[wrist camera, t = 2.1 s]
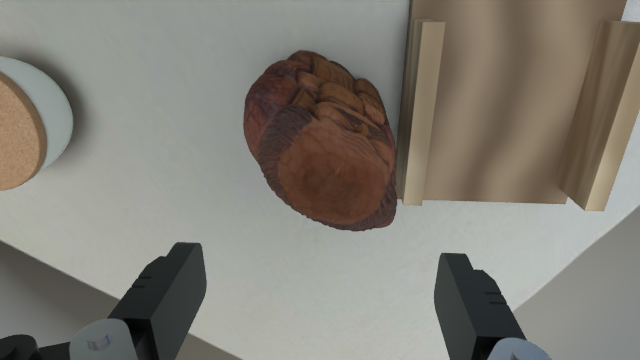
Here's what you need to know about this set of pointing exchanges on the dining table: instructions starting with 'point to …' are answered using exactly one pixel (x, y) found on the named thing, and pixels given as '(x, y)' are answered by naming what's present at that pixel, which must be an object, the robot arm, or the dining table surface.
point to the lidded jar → (30, 122)
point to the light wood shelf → (516, 101)
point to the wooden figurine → (323, 142)
